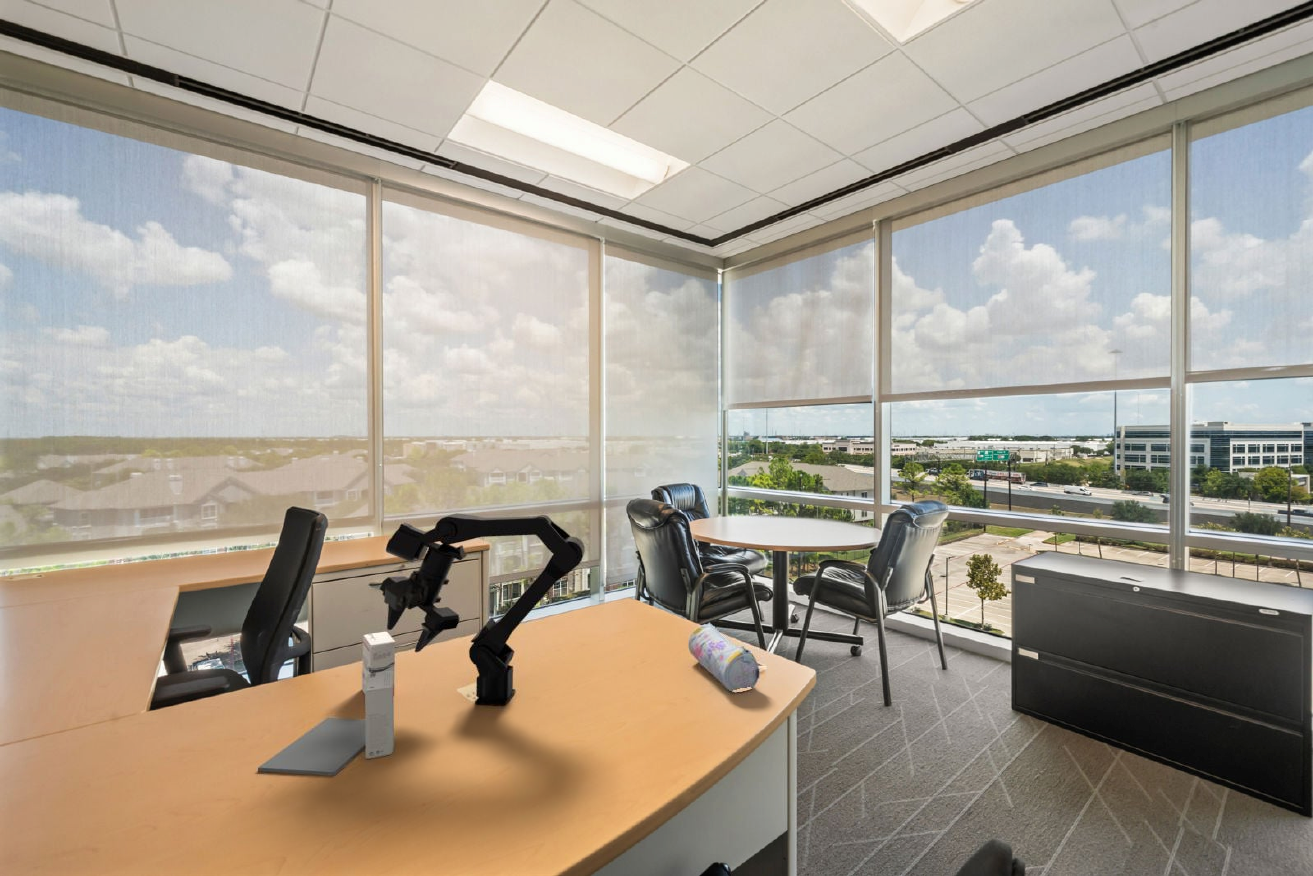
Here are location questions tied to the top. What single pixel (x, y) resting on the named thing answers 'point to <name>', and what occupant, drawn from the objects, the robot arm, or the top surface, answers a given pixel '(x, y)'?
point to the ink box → (377, 655)
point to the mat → (321, 749)
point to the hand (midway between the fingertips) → (402, 640)
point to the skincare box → (379, 714)
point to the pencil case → (723, 658)
